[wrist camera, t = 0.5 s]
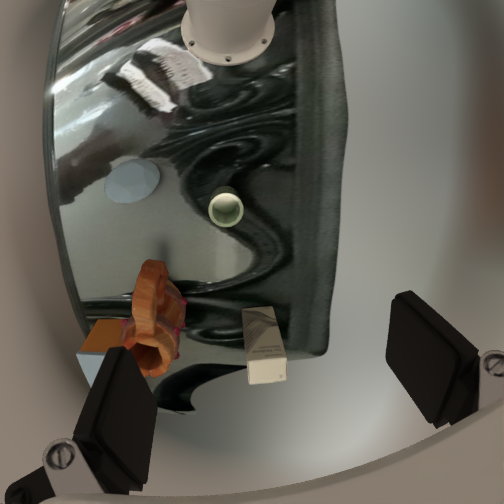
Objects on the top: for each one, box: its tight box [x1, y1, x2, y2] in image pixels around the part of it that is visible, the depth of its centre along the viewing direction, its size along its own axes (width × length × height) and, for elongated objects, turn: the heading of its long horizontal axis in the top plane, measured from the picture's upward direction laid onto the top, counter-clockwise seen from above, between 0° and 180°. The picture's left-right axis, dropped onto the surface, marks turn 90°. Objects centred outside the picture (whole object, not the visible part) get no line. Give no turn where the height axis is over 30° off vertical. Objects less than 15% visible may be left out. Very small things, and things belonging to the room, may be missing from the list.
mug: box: [121, 259, 188, 378], centre depth 36 cm, size 15×8×15 cm, turn 170°
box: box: [242, 306, 287, 384], centre depth 41 cm, size 5×4×13 cm
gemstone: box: [104, 159, 160, 204], centre depth 36 cm, size 8×8×5 cm
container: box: [76, 319, 145, 387], centre depth 43 cm, size 16×6×10 cm, turn 1°
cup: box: [209, 186, 243, 227], centre depth 37 cm, size 4×4×6 cm
